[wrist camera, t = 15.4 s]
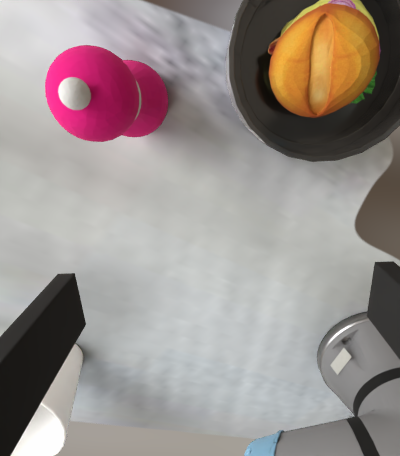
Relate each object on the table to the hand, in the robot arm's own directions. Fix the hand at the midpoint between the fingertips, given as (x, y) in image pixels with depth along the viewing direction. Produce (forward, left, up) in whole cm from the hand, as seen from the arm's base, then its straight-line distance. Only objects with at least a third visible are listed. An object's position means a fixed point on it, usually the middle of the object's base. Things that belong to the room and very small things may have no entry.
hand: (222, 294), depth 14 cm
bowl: (+12, -11, -27) cm, 31 cm away
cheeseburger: (+12, -11, -26) cm, 31 cm away
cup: (-27, +25, -27) cm, 46 cm away
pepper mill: (+9, +8, -27) cm, 29 cm away
